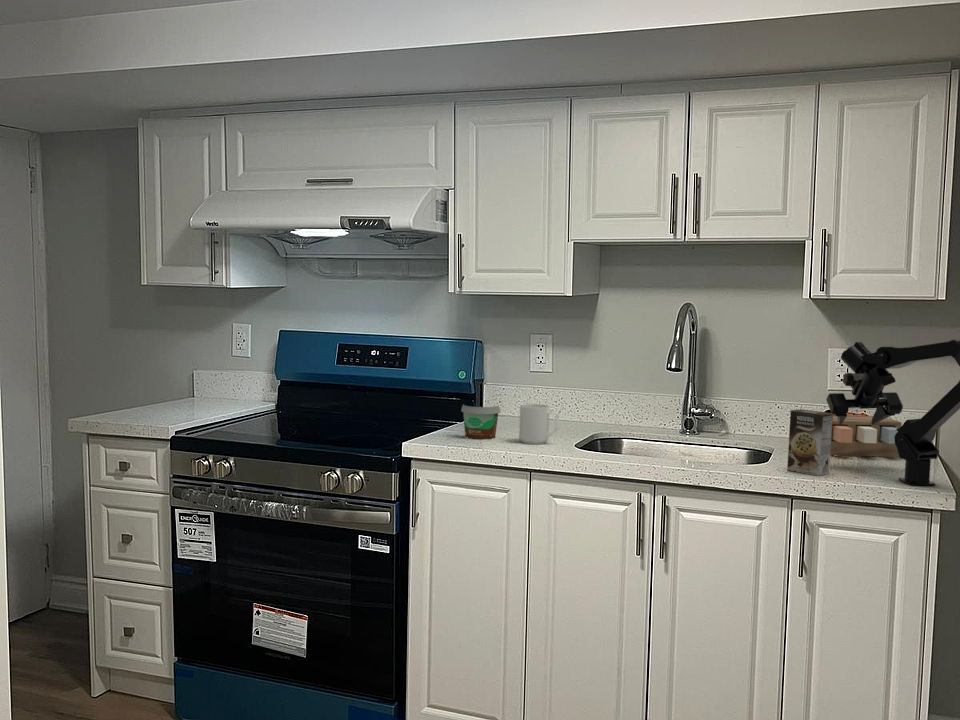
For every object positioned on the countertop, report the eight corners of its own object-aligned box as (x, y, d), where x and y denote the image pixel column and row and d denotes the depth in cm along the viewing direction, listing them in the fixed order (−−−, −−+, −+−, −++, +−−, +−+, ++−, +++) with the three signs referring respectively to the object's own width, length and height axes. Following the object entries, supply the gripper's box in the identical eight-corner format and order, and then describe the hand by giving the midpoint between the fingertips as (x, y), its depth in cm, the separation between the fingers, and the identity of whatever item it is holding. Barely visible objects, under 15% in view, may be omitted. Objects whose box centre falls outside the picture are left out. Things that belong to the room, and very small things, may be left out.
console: (899, 457, 274) (901, 422, 273) (824, 455, 273) (826, 420, 272) (881, 450, 285) (883, 416, 285) (809, 448, 285) (810, 414, 284)
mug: (514, 443, 283) (515, 406, 282) (525, 439, 291) (526, 403, 290) (552, 446, 278) (553, 409, 277) (562, 442, 286) (563, 406, 285)
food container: (456, 438, 288) (457, 406, 287) (460, 435, 294) (461, 403, 293) (496, 440, 286) (497, 408, 285) (499, 437, 292) (500, 405, 291)
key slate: (900, 443, 268) (901, 429, 268) (888, 443, 268) (889, 429, 268) (891, 440, 274) (892, 426, 274) (879, 440, 274) (880, 426, 274)
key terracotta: (852, 442, 268) (852, 428, 268) (839, 442, 268) (840, 428, 267) (843, 439, 274) (844, 425, 273) (831, 439, 274) (832, 425, 273)
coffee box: (786, 470, 249) (789, 410, 248) (797, 468, 253) (800, 408, 252) (819, 476, 242) (822, 414, 241) (830, 473, 247) (833, 412, 246)
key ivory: (876, 443, 268) (877, 429, 268) (864, 443, 268) (865, 429, 268) (867, 439, 274) (868, 426, 274) (855, 439, 274) (856, 425, 274)
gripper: (897, 362, 253) (880, 401, 265) (828, 363, 253) (814, 402, 264) (911, 392, 246) (893, 431, 257) (840, 394, 245) (825, 432, 257)
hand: (855, 423), depth 259 cm, fingers open, 9 cm apart
